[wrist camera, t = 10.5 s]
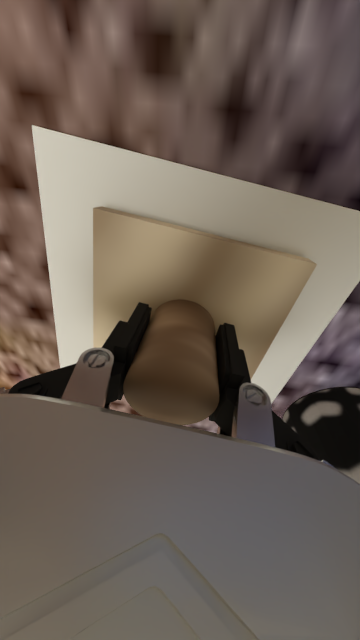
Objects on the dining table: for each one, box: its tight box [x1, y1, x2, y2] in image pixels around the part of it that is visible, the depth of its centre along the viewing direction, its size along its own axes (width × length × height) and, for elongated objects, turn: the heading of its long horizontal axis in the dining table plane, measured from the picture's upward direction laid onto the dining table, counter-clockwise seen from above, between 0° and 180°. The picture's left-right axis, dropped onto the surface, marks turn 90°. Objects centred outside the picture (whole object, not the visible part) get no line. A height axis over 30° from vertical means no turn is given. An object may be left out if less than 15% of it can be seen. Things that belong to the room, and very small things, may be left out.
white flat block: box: [32, 125, 360, 404], centre depth 15 cm, size 18×16×1 cm
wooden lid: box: [93, 206, 317, 425], centre depth 11 cm, size 11×11×6 cm
